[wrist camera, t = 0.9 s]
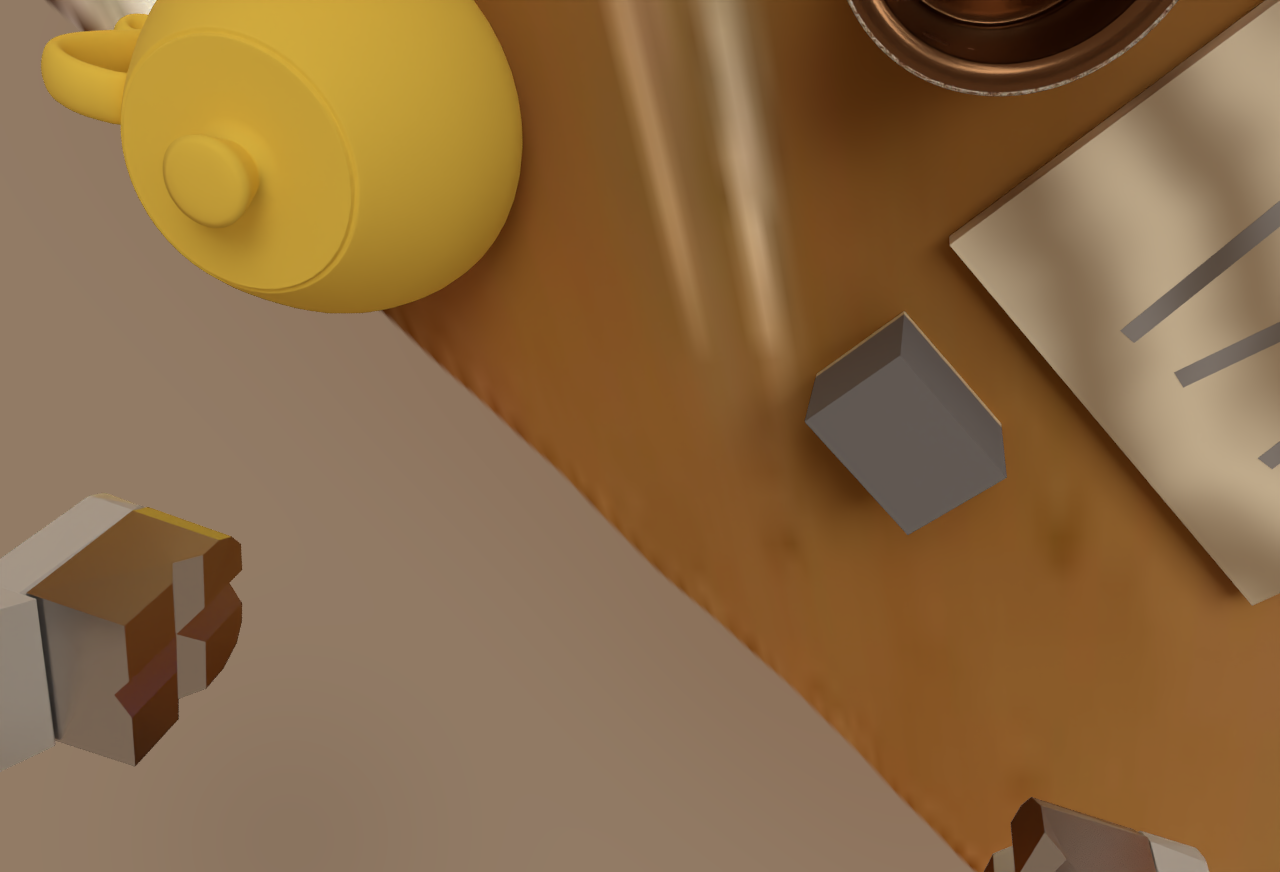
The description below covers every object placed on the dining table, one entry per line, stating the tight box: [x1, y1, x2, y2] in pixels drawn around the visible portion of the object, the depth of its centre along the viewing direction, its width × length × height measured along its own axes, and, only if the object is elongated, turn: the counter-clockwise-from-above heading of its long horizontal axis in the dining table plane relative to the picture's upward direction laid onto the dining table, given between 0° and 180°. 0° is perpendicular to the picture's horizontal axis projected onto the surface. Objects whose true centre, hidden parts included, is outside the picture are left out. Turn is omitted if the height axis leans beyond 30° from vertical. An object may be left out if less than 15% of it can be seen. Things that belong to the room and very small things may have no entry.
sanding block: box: [805, 311, 1007, 535], centre depth 45 cm, size 5×7×5 cm
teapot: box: [41, 0, 523, 313], centre depth 41 cm, size 20×19×13 cm
